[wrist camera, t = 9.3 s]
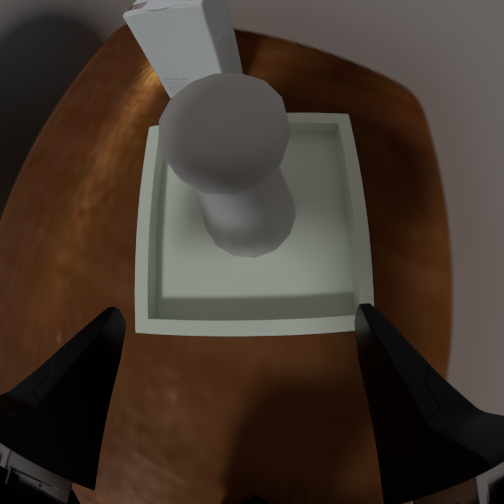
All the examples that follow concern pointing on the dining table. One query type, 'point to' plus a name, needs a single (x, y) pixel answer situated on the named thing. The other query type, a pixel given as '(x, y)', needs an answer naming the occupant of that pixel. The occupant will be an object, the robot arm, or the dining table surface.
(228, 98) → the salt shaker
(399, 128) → the dining table surface
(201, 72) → the skincare box
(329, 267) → the tray
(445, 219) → the dining table surface
